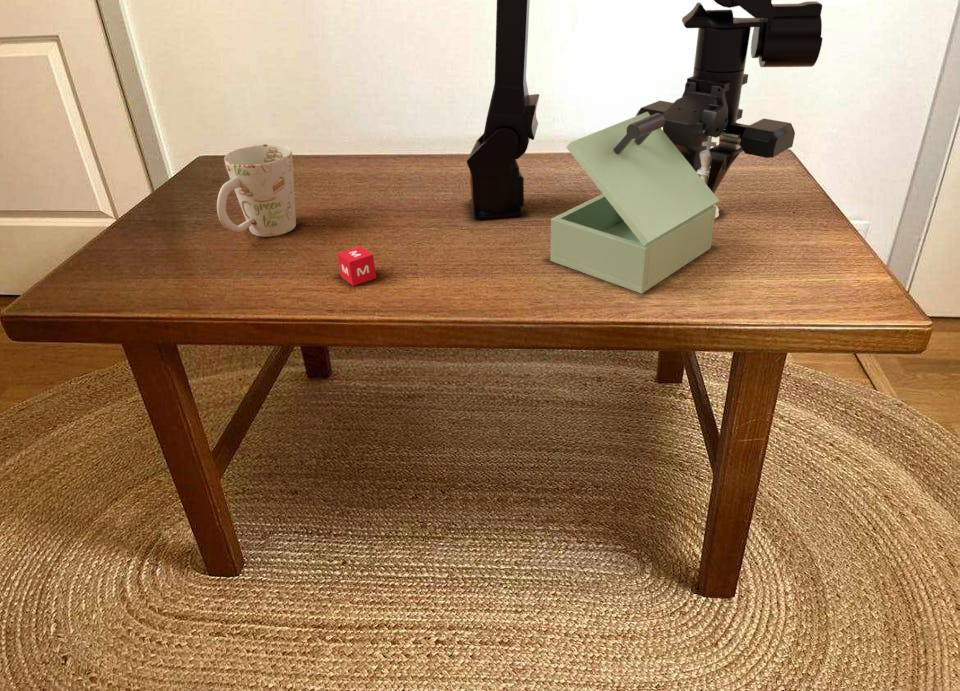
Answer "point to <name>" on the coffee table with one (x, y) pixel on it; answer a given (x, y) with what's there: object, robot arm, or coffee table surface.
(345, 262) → the red letter cube
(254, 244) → the coffee table surface
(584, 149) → the lid
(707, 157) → the chess piece
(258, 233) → the mug
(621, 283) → the chest
